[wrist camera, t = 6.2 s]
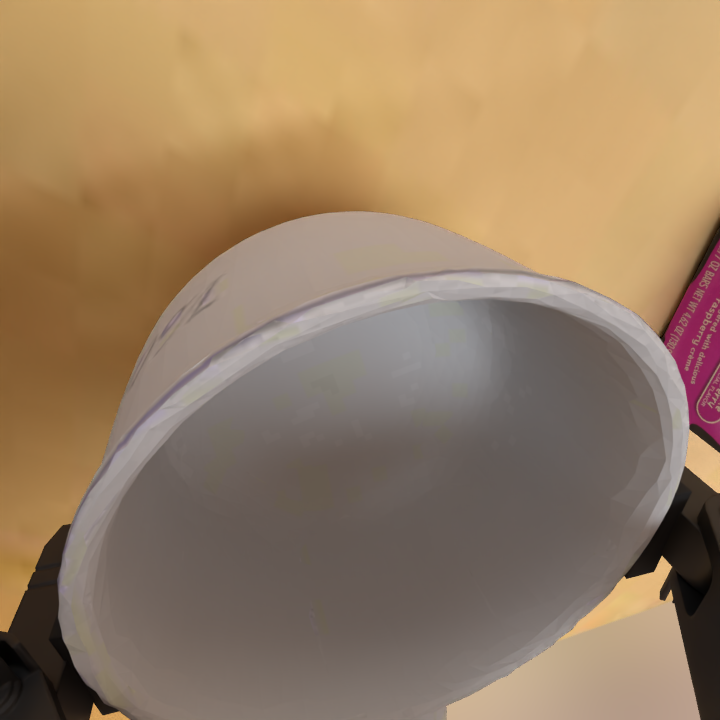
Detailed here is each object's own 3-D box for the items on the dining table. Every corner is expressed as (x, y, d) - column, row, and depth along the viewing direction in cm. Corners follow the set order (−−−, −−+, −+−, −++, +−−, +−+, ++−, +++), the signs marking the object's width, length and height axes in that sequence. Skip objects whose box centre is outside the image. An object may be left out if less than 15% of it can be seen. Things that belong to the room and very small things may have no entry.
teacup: (121, 158, 10) (-89, 281, 4) (538, 188, 13) (858, 292, 6) (179, 559, 17) (143, 860, 10) (445, 525, 20) (553, 748, 13)
